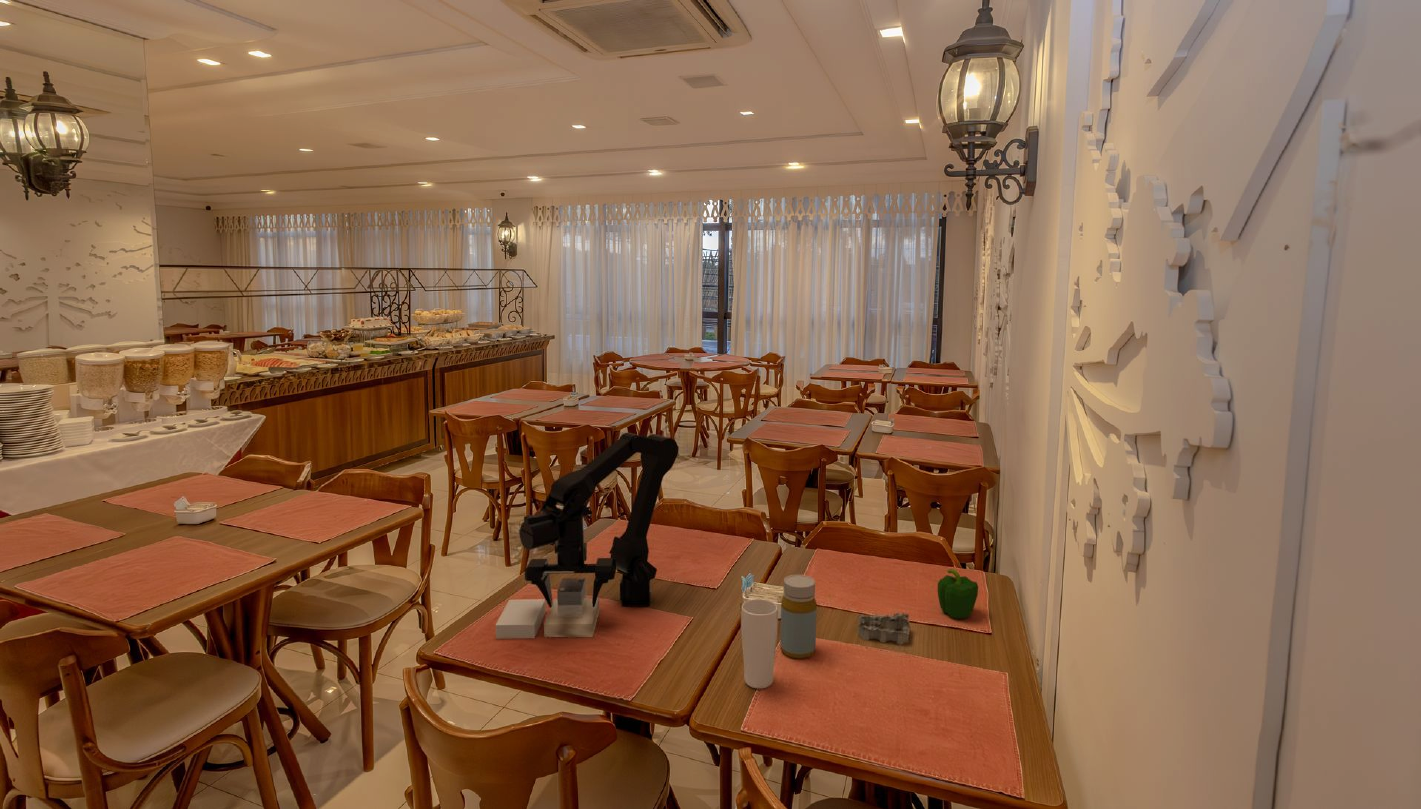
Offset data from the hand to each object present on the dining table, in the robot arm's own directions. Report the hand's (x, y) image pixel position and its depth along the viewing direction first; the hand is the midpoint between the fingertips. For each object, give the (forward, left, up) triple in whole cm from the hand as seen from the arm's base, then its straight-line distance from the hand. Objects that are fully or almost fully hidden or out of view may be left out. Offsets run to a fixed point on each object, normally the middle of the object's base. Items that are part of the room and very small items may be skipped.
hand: (572, 606), depth 156 cm
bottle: (-47, +13, -4) cm, 49 cm away
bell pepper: (-85, -2, -4) cm, 85 cm away
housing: (0, 0, -1) cm, 1 cm away
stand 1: (+11, 0, -4) cm, 12 cm away
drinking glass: (-38, +24, -4) cm, 45 cm away
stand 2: (0, 0, -4) cm, 4 cm away
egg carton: (-66, +7, -4) cm, 67 cm away
